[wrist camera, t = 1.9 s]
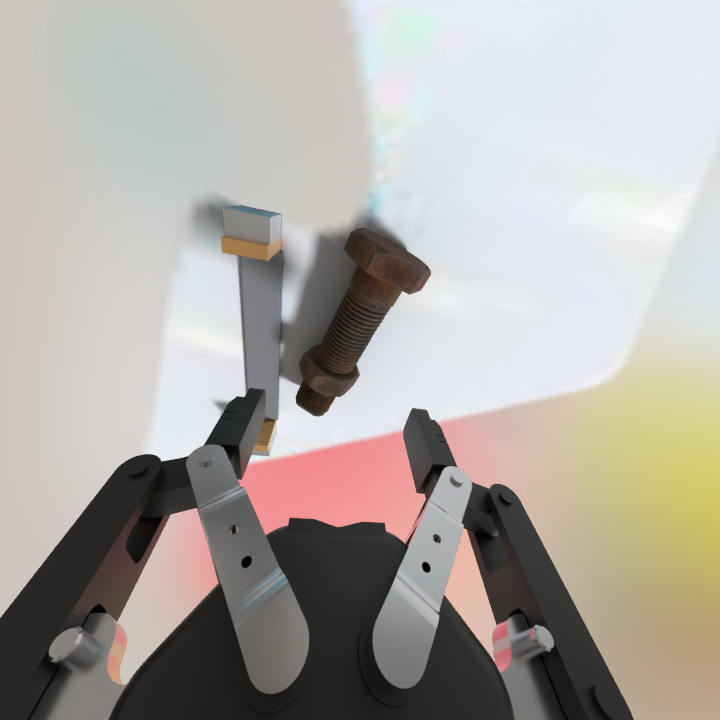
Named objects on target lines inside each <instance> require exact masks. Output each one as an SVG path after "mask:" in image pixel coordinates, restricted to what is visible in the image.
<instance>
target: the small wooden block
mask: <svg viewBox="0 0 720 720" xmlns="http://www.w3.org/2000/svg"><path fill="white" fill-rule="evenodd" d="M276 423H277V420H272V419H264V422H263V425H262V428H261V430H260V433H259V436H258V438H257V441H256V443H255V446H254V449H253V451H252V454H251V455H261V456H269V455H270V452H271V448H272V445H273V442H274V438H275V435H276Z"/></svg>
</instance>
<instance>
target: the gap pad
mask: <svg viewBox="0 0 720 720" xmlns="http://www.w3.org/2000/svg"><path fill="white" fill-rule="evenodd" d="M241 274H242V293H243V311H244V329H245V347H246V365H247V383H248V390H249V388H256V389H264V390H265V391H266V412H265V418H264V419H272V420H278V405H279V372H280V339H281V307H282V274H283V252H282V251H279V252H278V253H277V254H275V255H274V256H273V257H272V258H271V259H269V260H268V261H265V260H260V259H255V258H250V257H244V256H241Z"/></svg>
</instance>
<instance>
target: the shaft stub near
mask: <svg viewBox="0 0 720 720" xmlns="http://www.w3.org/2000/svg"><path fill="white" fill-rule="evenodd" d="M222 210H223V222H224V234H225V236H223V237H221V243H222V252H223V253H228V254H234V255H239V256H244V257H250V258H255V259H260V260H265V261H268V260H269V259H271V258H272V257H273V256H274V255H275V254H277V253H278V252H279V251H280V250H281V232H282V214H279V213H274V212H270V211H265V210H261V209H256V208H251V207H247V206H242V205H241V206H232V207H223V208H222Z"/></svg>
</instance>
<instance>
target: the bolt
mask: <svg viewBox="0 0 720 720" xmlns="http://www.w3.org/2000/svg"><path fill="white" fill-rule="evenodd" d="M344 251H345V252H346V253H347V254H348V255H349V256H350V257H351V258H352V259H353V260H354V261H355V262H356V263H357V264H358V266H357V268H356V270H355V272H354V274H353V276H352V278H351V280H350V285H349V288H348V290H347V293H345V297H344V298H343V301H342V302H341V305H340V306H339V309H338V310H337V313H336V314H335V316H334V318H333V320H332V322H331V325H330V327H329V328H328V331H327V332H326V335H325V338H324V339H323V341H322V344H321V345H317V346H314V347H312V348H311V349H309V350H308V351H307V352H306V353H304V355H303V357H302V359H301V361H300V363H299V365H300V370H301V374H302V376H303V378H304V380H303V382H302V384H301V386H300V388H299V390H298V392H297V395H296V403H297V405H298V406H300V407H301V408H303V409H304V410H306V411H307V412H309V413H310V414H312V415H313V416H322V415H324V413H325V412H327V411H328V409H329V407H330V405H331V404H332V402H333V401H334V399H335V397H341V396H342V395H344V394H345V393H346V392H347V391H348V390H349V389H350V388H351V387H352V386H353V385H354V383H355V382H356V380H357V379H358V377H359V375H360V374H359V371H358V368H357V365H356V363H357V361H358V360H359V358H360V357H361V355H362V353H363V352H364V350H365V348H366V346H367V345H368V343H369V342H370V340H371V338H372V336H373V334H374V333H375V331H376V330H377V328H378V327H379V325H380V323H381V322H382V320H383V319H384V316H385V315H386V314H387V312H388V311H389V309H390V308H391V307H392V306H393V305H394V303H395V302H396V300H397V299H398V297H399V295H400V294H401V292H402V291H404V292H406V293H408V294H413V293H415V292H418V291H420V290H421V289H422V288H423V286H424V285H425V283H426V282H427V280H428V278H429V277H430V275H431V270H430V269H429V267H428V266H427V265H426V264H425V263H423V262H422V261H421V260H420V259H418V258H417V257H415V256H414V255H412V254H411V253H409V252H408V251H406V250H405V249H403V248H401V247H400V246H398V245H396V244H394V243H393V242H391V241H390V240H388V239H386V238H384V237H382V236H380V235H378V234H376V233H374V232H372V231H369V230H367V229H365V228H360V229H357V230H355V231H353V232H351V234H350V236H349V238H348V241H347V243H346V245H345V247H344Z"/></svg>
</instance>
